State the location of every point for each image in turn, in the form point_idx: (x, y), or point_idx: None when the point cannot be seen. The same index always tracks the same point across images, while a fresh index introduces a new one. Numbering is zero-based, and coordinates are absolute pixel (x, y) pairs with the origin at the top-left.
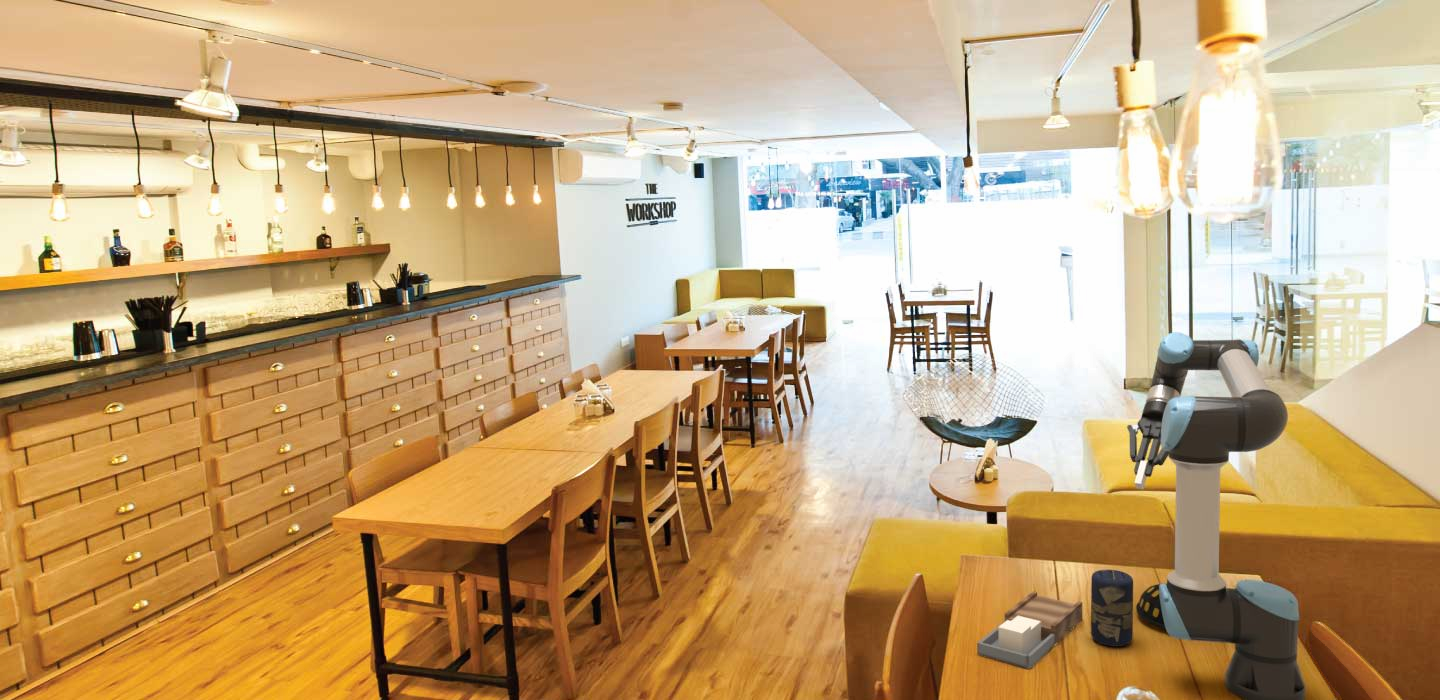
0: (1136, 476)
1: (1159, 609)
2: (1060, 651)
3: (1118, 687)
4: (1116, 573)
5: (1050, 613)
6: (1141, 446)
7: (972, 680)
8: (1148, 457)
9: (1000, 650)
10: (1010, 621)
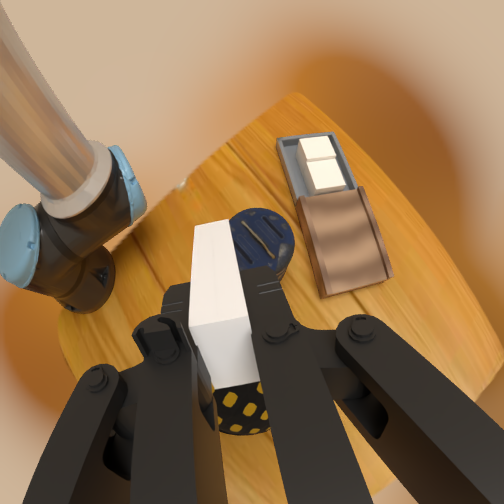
0: (230, 236)
1: None
2: (281, 200)
3: (190, 175)
4: (256, 252)
5: (336, 238)
6: (336, 468)
7: (294, 104)
8: (187, 366)
9: (308, 135)
10: (330, 154)
